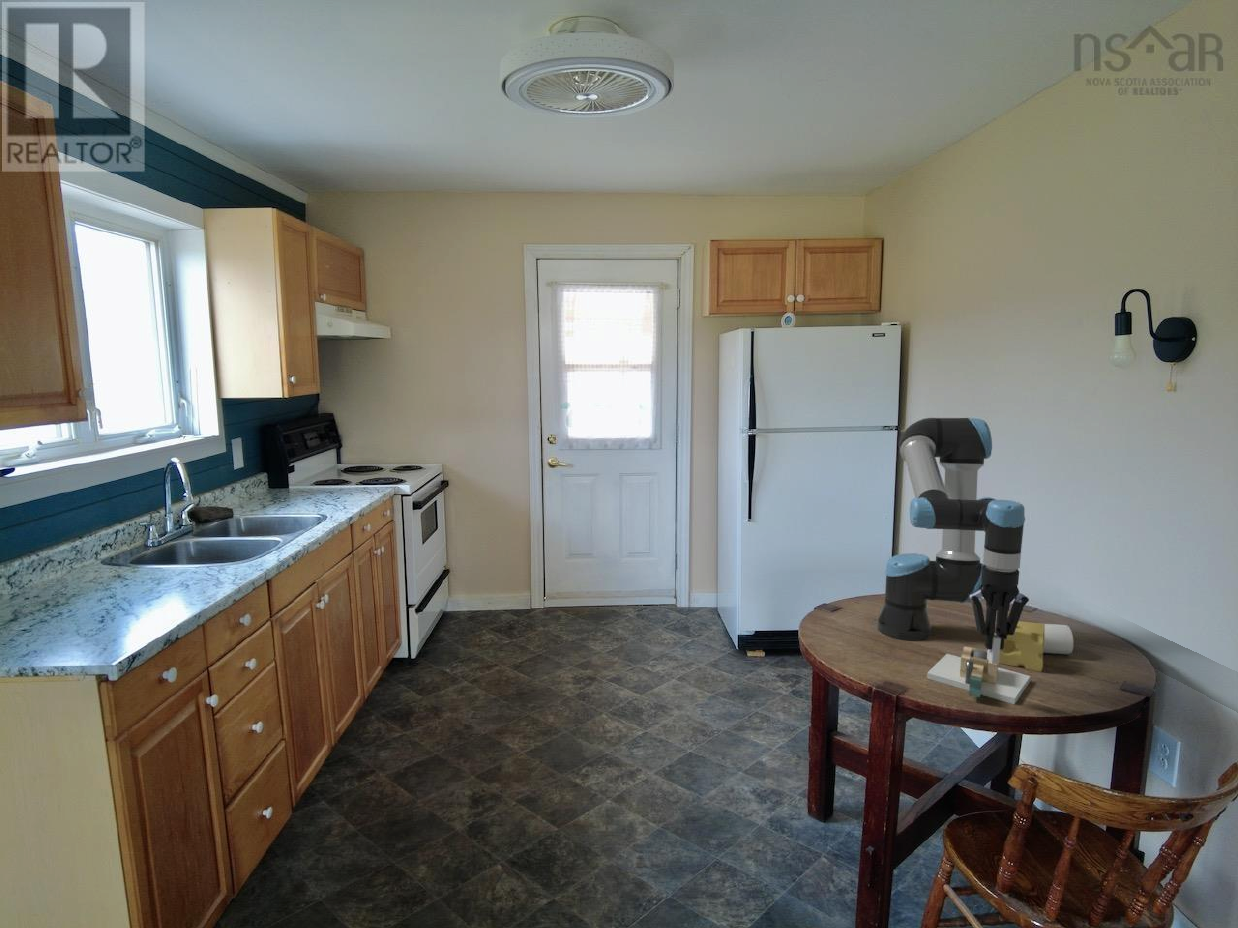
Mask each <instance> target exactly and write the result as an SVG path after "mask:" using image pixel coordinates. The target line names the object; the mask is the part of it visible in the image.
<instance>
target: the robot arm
mask: <svg viewBox="0 0 1238 928" xmlns="http://www.w3.org/2000/svg"><path fill="white" fill-rule="evenodd" d="M899 439H900V440H899V443H898V448H899V455H900V457H901V459H902V460H903V461H904V462H905V463H906V467H907V470H908V475H909V479H910V483H911V487H912V491H913V493H914V494H913V495H914V498H912V499H911V501H910V503H909V504H910V505H909V520H910V521H909V522H910V524H911V525H912V526H913V527H914V528H921V529H922V528H923V529H927V530H931V529H934V530H942V537H941V538H942V540H941V543H942V544H941V549H940V550H939V551H938V552H937V553H936V555H935V560H931V559H930V558H929V556H928V555H926V554H922V553H916V552H915V553H914V552H913V553H912V552H909V553H907V552H906V553H899V554H895V555H893V556H891V557H889V558H888V559H887V562H886V569H885V588H884V589H885V591H884V605H883V607H882V609H881V611H880V614H879V616H878V618H877V624H876V625H877V628H876V629H877V630H878V631H879V632H880V633H882V634H883V635H886V636H888V637H891V638H895V639H898V640H904V641H905V640H906V641H921V640H927V639H929V638H930V637H931V636H932V624H931V621H930V617H929V614H928V610H927V603H928V601H937V602H939V601H942V602H953V603H960V604H964V603H969V604H970V603H971V604H972V610H973V615H974V620H975V621H974V622H975V625H976V629H977V631H978V632H979V633H980V634H981V635H983V636H984V644H983V645H984V648H986V650H987V651H988V652H987V659H988V660H989V661H990V662H991V663H992V664H998V665H999V664H1000V663H999V653H1000V650H1003V648H1004V639H1007V635H1013V634H1014V632H1015V629H1016V627H1017V624H1018V621H1020V618H1021V615H1022V613H1023V610H1024V607H1025V606H1026V605H1027V604H1028V602H1029V600H1030V599H1029V597H1027V595H1025V594H1023V593H1020V590H1019V588H1018V585H1019V580H1020V579H1019V578H1020V570H1019V569H1020V568H1021V557H1022V547H1023V545H1022V544H1023V536H1024V527H1025V521H1026V517H1025V506H1024V505H1023V504H1022V503H1021V502H1017V501H1015V500H1010V499H1009V500H1008V499H997V498H993V497H989V496H988V497H987V496H983V497H980V498H977V495H978V473H979V472H978V471H979V470H980V469H981V468H982V467H983V466H984V464H985V460H987V459H990V457H991V456H992V451H993V441H992V439H993V438H992V433H991V430H990V427H989V425H988V424H987V422H986V421H985V420H984V419H981V418H973V417H972V418H971V417H927V418H922V419H919V420H917V421H915V422H913V423H912V424H911V425H910V426H908V427H907V428H906V429H905V430H904V432H903V433H902V435H901V436H900V438H899ZM936 458H939V465H940V466H941V467H942V468H944V481H943V477H942V475H941V474H942V473H941V472H940V471H941V470H940V467H939V465H938V462H937V459H936ZM976 531H977V532H978V531H979V532H984V544H983V545H984V547H983V559H982V562H981V557H979V556H978V554H977V553H976V552H975V547H976V545H975V544H976V543H975V542H976ZM982 598H983V599H984V600H985V606H986V610H985V616H984V609H983V606H982V603H981V602H982ZM1011 603H1012V604H1011ZM1010 605H1011V608H1010Z"/></svg>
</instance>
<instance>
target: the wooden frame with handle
mask: <svg viewBox="0 0 1238 928" xmlns="http://www.w3.org/2000/svg"><path fill="white" fill-rule="evenodd" d="M977 649H978V650H983V651H986V652H988V650H987V649H986V650H985V649H979V648H976V647H975V648H974V647H970V646H969V647H968V646H963V650H962V653H961V656H960V657H961V666H960V676H961V677H966V664H967V661H971V662H973V669H972V674H971V677H970V686H969V691H968V696H973V697H975V698H976V697H977V698H981V694H980V693H981V686H982V681H985V682H989V683H994V684H996V678H997V672H998V667H999V664H992V663H991V662H990V661H989V660H988V659H987V660H985V659H980V658H975V657H973V654H974V650H977Z"/></svg>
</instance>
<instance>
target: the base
mask: <svg viewBox="0 0 1238 928" xmlns="http://www.w3.org/2000/svg"><path fill="white" fill-rule="evenodd" d="M976 649H977V650H974V654H973V657H975V658H980V659H985V660H987V652H986V651H987V650H986V651H983V650H984V649H981V650H978V649H979V648H976ZM960 666H961V656H957V655H955V654H954V655H953V654H950V653H946V654H945V655H944V656H943V657H942V658H941V659H940V660H939V661H938V662H937V663H936V664H934V665H933V667H932V668H931V669H930V670H928V672H927V673H926V679H928V680H932V681H935V682H938V683H941V684H944V685H949V686H952V687H954V688H958V689H961V690H965V691H968V692H969V686H970V684H966V683H965V678H966V677H961V676H960ZM1030 683H1031V675H1027V674H1023V673H1020V672H1017V671H1012V670H1009V669H1007V668H1002V667H999V666H998V672H997V678H996V684H994V683H989V682H985V681H982V686H981V693H980V696H981V695H982V696H985V697H988V698H992V699H994V700H998V701H1001V702H1004V703H1008V704H1012V705H1015V704H1017V702H1018V700H1019V699H1020V697H1021V696H1022V694H1023V693H1024V691H1025V690H1026V688H1027V687H1028V685H1029V684H1030Z"/></svg>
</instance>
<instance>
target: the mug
mask: <svg viewBox="0 0 1238 928" xmlns="http://www.w3.org/2000/svg"><path fill="white" fill-rule="evenodd" d="M1040 624H1042V623H1040ZM1043 624H1044V625H1045V636H1044V650H1043V654H1053V655H1054V654H1055V655H1066V656H1067V655H1070V654H1072V653H1073V649H1074V636H1073V635H1074V634H1073V632H1072V630H1071V628H1070V627H1069V625H1067V624H1057V623H1056V624H1055V623H1054V624H1053V623H1043Z"/></svg>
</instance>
